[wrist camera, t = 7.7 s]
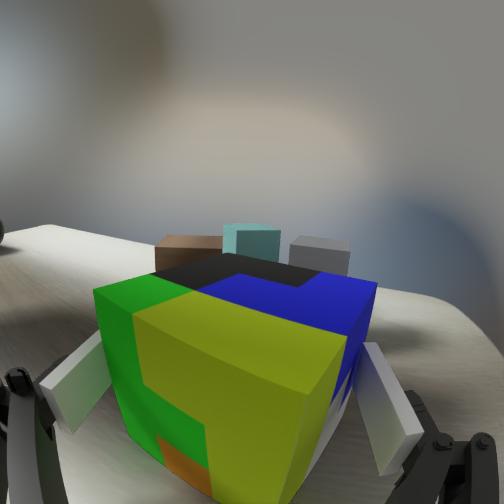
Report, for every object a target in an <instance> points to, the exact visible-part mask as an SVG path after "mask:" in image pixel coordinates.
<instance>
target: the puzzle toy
mask: <svg viewBox="0 0 504 504" xmlns="http://www.w3.org/2000/svg"><path fill="white" fill-rule="evenodd" d="M376 289H377V283H376V282H370V281H366V280H361V279H356V278H351V277H346V276H341V275H336V274H331V273H326V272H322V271H317V270H312V269H307V268H302V267H297V266H292V265H287V264H282V263H277V262H272V261H268V260H263V259H258V258H253V257H248V256H243V255H238V254H234V253H229V252H227V253H224V254H220V255H216V256H212V257H209V258H205V259H201V260H198V261H194V262H190V263H187V264H183V265H179V266H176V267H172V268H168V269H165V270H161V271H157V272H154V273H150V274H147V275H143V276H139V277H136V278H132V279H128V280H125V281H121V282H118V283H114V284H110V285H107V286H103V287H100V288H96V289H93V294H94V301H95V307H96V313H97V319H98V324H99V330H100V335H101V340H102V343H103V347H104V352H105V356H106V360H107V365H108V368H109V372H110V376H111V380H112V384H113V388H114V391H115V395H116V398H117V401H118V404H119V408H120V411H121V414H122V417H123V419H124V422H125V425H126V428H127V431H128V433H129V436H130V437H131V438H132V439H133V440H134V441H135V442H136V443H138V444H139V445H140V446H141V447H142V448H143V449H145V450H146V451H147V452H148V453H149V454H150V455H152V456H153V457H154V458H155V459H157V460H158V461H159V462H160V463H162V464H163V465H164V466H166V467H167V468H168V469H169V470H171V471H172V472H173V473H175V474H176V475H178V476H179V477H180V478H182V479H183V480H185V481H186V482H188V483H189V484H190V485H192V486H193V487H195V488H196V489H198V490H199V491H201V492H203V493H204V494H206V495H207V496H209V497H211V498H212V499H214V500H216V501H217V502H219V503H221V504H289V502H290V501H291V500H292V498H293V497H294V495H295V494H296V493H297V491H298V490H299V488H300V487H301V485H302V484H303V482H304V481H305V479H306V478H307V476H308V475H309V473H310V472H311V470H312V469H313V467H314V465H315V464H316V462H317V461H318V459H319V457H320V456H321V454H322V452H323V451H324V449H325V447H326V445H327V444H328V442H329V440H330V438H331V437H332V435H333V433H334V431H335V429H336V427H337V426H338V424H339V422H340V420H341V418H342V416H343V413H344V410H345V407H346V404H347V402H348V399H349V395H350V392H351V389H352V380H353V377H354V373H355V370H356V366H357V363H358V359H359V355H360V351H361V348H362V344H363V342H365V340H366V336H367V332H368V327H369V323H370V319H371V314H372V309H373V305H374V300H375V294H376Z"/></svg>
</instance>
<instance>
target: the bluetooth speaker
mask: <svg viewBox="0 0 504 504" xmlns="http://www.w3.org/2000/svg"><path fill="white" fill-rule="evenodd" d="M3 237H4V226H3V223H2V221H1V220H0V243H1V242H2V240H3Z"/></svg>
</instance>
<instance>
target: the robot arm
mask: <svg viewBox="0 0 504 504" xmlns="http://www.w3.org/2000/svg"><path fill="white" fill-rule="evenodd" d="M4 378H5V380H6V382H7V384H8V386H9V387H7V386H4V385H3V382H2V380H1V379H0V504H6V499H7V491H8V488H9V497H10V504H69V503H68V499H67V495H66V492H65V487H64V483H63V478H62V474H61V469H60V463H59V457H58V451H57V444H56V436H55V429H54V426H53V423H54V422H55V421H57V423H58V425H59V427H60V429H62V430H64V431H66V432H68V433H70V434H72V435H73V434H74V432H75V431H76V430H77V428H78V427H79V426H80V424H81V423H82V422H83V420H84V419H85V418H86V416H87V415H88V414H89V412H90V411H91V410H92V408H93V407H94V406H95V405H96V403H97V402H98V401H99V399H100V398H101V397H102V395H103V394H104V393H105V392H106V390H107V389H108V388H109V386H110V385H111V384H112V380H111V376H110V372H109V368H108V365H107V360H106V356H105V352H104V347H103V343H102V340H101V335H100V330H98V331H97V332H95V333H94V334H93V335H92V336H91V337H90V338H89V339H88V340H86V341H85V342H84V343H83V344H82V345H81V346H80V347H79V348H77V349H76V350H75V351H74V352H73V353H72V354H71V355H70V356H69V355H66V356H64V357H62V358H59V359H58V360H57V361H56V362H55V363H53V365H51V366H50V367H49V368H48V370H46V371H45V372H43V373H42V374H41V375H40V376H39V377H38V378H37V379H36V380H35V381H34V382H32V381H31V378H30V376H29V373H28V371H27V370H26V369H24V368H20V367H17V368H13V369H11V370H9V371H8V372H7V373H6V374H5V376H4ZM352 386H353V389H354V392H355V395H356V398H357V401H358V404H359V407H360V411H361V414H362V417H363V420H364V423H365V427H366V430H367V433H368V436H369V440H370V443H371V447H372V450H373V453H374V457H375V461H376V464H377V468H378V471H379V475H380V476H384V475H389V474H394V473H397V471H398V470H399V469H400V467H401V466H403V469H404V473H403V474H402V476H401V477H400V478H399V479H398V481H397V482H396V483H395V484H394V485H396V486H395V488H394V490H393V491H392V493H391V495H390V496H389V498H388V500H387V501H386V503H385V504H435V502H436V500H437V498H438V495H439V500H438V504H499V477H498V463H497V453H496V445H495V441H494V439H493V438H492V436H490V435H489V434H487V433H483V432H481V433H477V434H475V435H474V436H473V437H472V439H471V440H470V441H454V439H453V438H452V437H451V436H450V435H447V434H445V433H440V432H439V430H438V429H437V427H436V425H435V423H434V421H433V419H432V418H431V416H430V414H429V412H428V411H427V409H426V407H425V405H424V403H423V402H422V400H421V398H420V396H418V395H417V394H416V393H415V392H414V391H412V390H409V391H403V389H402V387H401V386H400V384H399V382H398V380H397V378H396V376H395V375H394V373H393V371H392V369H391V367H390V366H389V364H388V362H387V360H386V359H385V357H384V355H383V353H382V352H381V350H380V348H379V346H378V345H377V343H376V342H363V344H362V348H361V351H360V355H359V359H358V363H357V366H356V370H355V373H354V377H353V380H352Z"/></svg>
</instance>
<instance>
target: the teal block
mask: <svg viewBox="0 0 504 504" xmlns="http://www.w3.org/2000/svg"><path fill="white" fill-rule="evenodd" d="M280 234H281V230H279V229H276V228H273V227H270V226H268V225H265V224H224V242H223V254H224V253H227V252H229V253H234V254H238V255H243V256H248V257H253V258H258V259H263V260H268V261H272V262H277V263H278V262H279V247H280Z"/></svg>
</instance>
